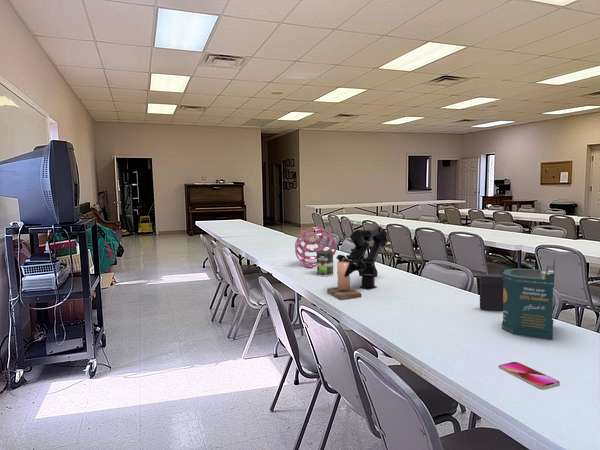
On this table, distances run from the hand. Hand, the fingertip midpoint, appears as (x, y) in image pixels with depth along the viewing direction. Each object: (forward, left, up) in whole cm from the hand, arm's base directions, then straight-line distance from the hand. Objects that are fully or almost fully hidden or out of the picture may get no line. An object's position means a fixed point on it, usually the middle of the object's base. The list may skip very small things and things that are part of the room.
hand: (341, 275), depth 205 cm
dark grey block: (-29, +62, -10) cm, 70 cm away
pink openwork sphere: (-38, -65, -10) cm, 76 cm away
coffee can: (-25, -41, -10) cm, 49 cm away
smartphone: (+21, +97, -11) cm, 100 cm away
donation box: (-16, +81, -10) cm, 83 cm away
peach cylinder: (-1, 0, -7) cm, 7 cm away
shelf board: (-1, 0, -10) cm, 10 cm away
